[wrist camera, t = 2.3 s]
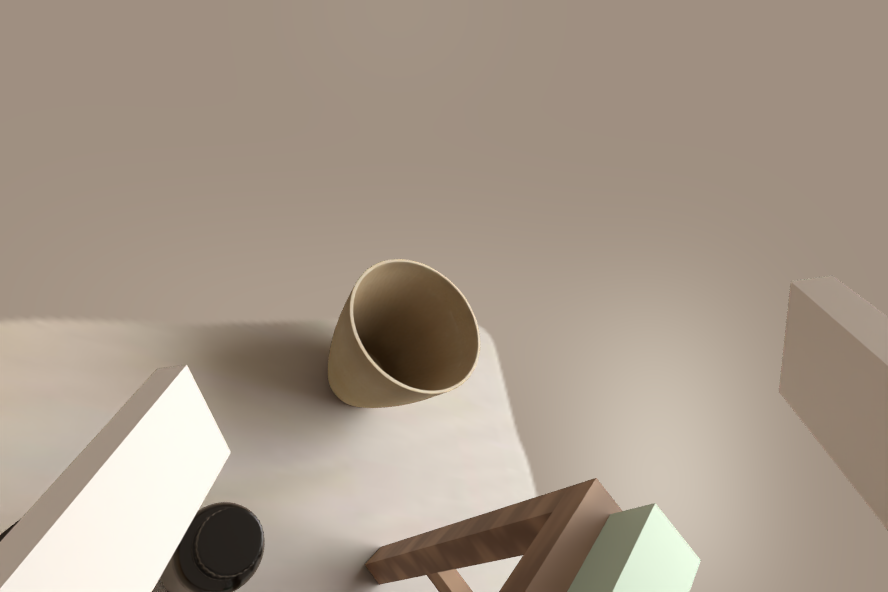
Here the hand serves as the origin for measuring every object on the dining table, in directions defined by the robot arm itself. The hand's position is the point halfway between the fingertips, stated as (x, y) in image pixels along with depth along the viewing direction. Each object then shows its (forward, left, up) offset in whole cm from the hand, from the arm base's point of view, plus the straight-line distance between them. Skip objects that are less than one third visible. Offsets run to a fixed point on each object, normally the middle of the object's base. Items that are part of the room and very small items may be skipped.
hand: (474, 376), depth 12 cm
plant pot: (+4, -27, -48) cm, 55 cm away
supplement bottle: (-1, -3, -48) cm, 48 cm away
